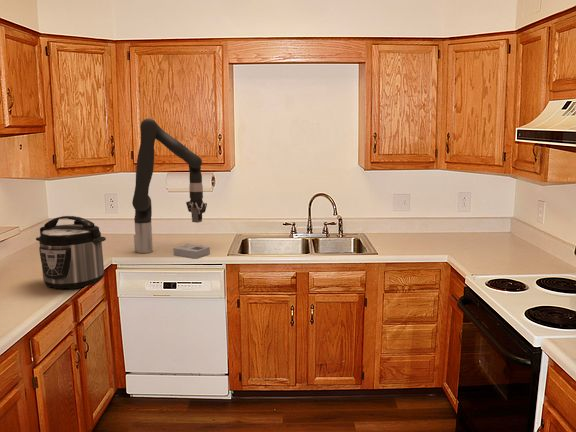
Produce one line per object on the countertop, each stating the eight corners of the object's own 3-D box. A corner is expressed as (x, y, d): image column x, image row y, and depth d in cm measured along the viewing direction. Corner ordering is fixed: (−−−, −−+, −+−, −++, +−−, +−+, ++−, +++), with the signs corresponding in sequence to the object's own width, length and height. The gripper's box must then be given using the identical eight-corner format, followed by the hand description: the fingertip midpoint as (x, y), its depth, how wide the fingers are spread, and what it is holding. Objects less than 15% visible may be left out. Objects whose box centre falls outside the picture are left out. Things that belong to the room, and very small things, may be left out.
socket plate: (173, 255, 314) (173, 247, 313) (187, 250, 324) (187, 243, 323) (196, 258, 306) (196, 251, 305) (209, 253, 316) (209, 246, 315)
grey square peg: (192, 222, 325) (191, 208, 323) (196, 220, 328) (196, 207, 327) (197, 222, 323) (197, 208, 322) (201, 221, 326) (201, 207, 325)
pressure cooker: (30, 282, 266) (23, 216, 260) (87, 269, 286) (82, 208, 280) (57, 296, 245) (51, 225, 239) (116, 282, 265) (112, 216, 259)
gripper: (182, 190, 322) (183, 219, 326) (201, 192, 316) (202, 222, 319) (190, 188, 329) (191, 217, 332) (210, 190, 322) (210, 219, 325)
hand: (197, 219), depth 325 cm, fingers closed on grey square peg, 4 cm apart
